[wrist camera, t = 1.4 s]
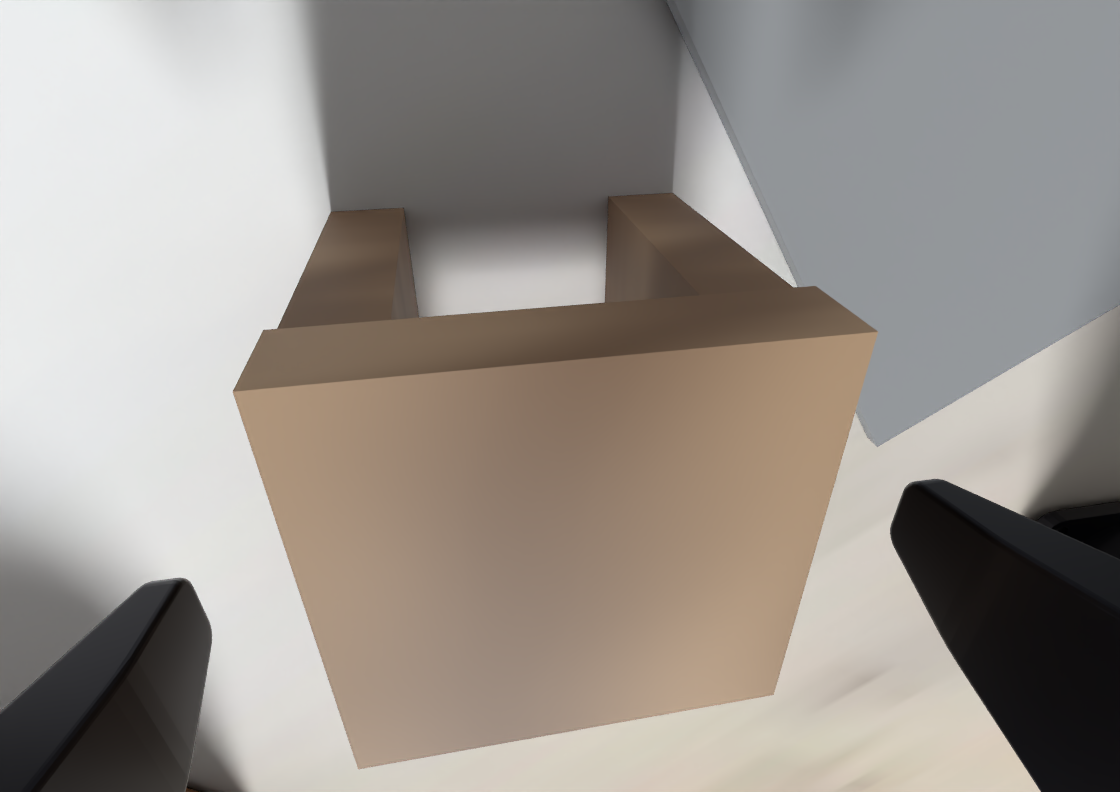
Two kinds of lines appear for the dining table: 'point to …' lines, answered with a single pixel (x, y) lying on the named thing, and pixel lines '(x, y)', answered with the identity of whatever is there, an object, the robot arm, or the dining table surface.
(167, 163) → the dining table surface
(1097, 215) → the mat
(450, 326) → the stool
